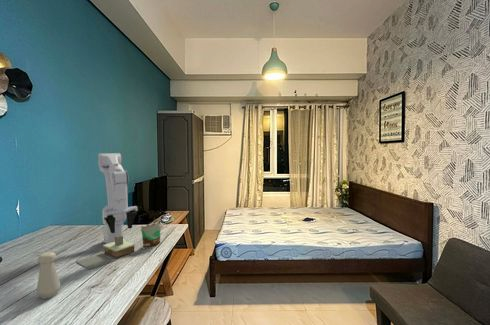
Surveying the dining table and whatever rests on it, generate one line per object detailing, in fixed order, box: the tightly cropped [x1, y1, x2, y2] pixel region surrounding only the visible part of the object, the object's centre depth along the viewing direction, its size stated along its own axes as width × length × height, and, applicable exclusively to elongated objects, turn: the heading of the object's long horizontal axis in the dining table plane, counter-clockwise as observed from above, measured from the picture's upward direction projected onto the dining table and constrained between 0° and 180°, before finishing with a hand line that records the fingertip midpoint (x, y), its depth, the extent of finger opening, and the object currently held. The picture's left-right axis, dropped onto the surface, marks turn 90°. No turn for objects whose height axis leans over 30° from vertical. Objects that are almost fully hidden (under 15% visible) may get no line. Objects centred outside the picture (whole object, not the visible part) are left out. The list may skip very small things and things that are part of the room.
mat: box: [75, 252, 117, 271], centre depth 103 cm, size 12×10×1 cm
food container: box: [140, 219, 163, 248], centre depth 122 cm, size 12×6×10 cm, turn 168°
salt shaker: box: [36, 251, 61, 300], centre depth 79 cm, size 6×6×13 cm
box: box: [103, 245, 135, 259], centre depth 112 cm, size 10×8×3 cm
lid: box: [102, 235, 136, 252], centre depth 112 cm, size 11×9×4 cm
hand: (121, 230), depth 112 cm, fingers open, 7 cm apart
